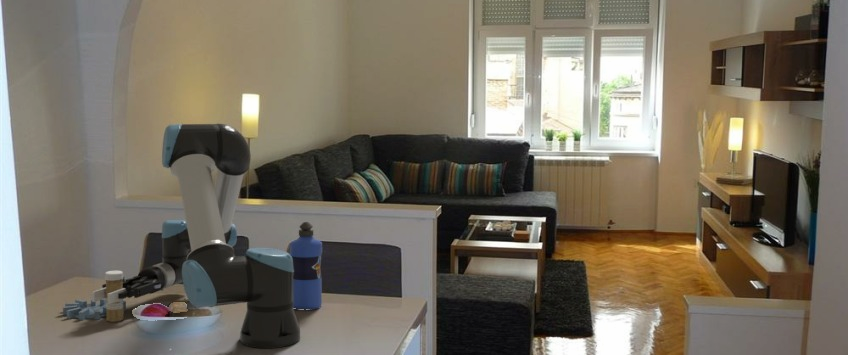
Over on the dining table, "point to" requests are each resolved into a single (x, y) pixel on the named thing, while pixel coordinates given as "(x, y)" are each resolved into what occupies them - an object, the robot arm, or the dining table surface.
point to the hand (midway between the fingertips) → (101, 297)
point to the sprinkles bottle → (113, 285)
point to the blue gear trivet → (87, 309)
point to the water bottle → (306, 269)
